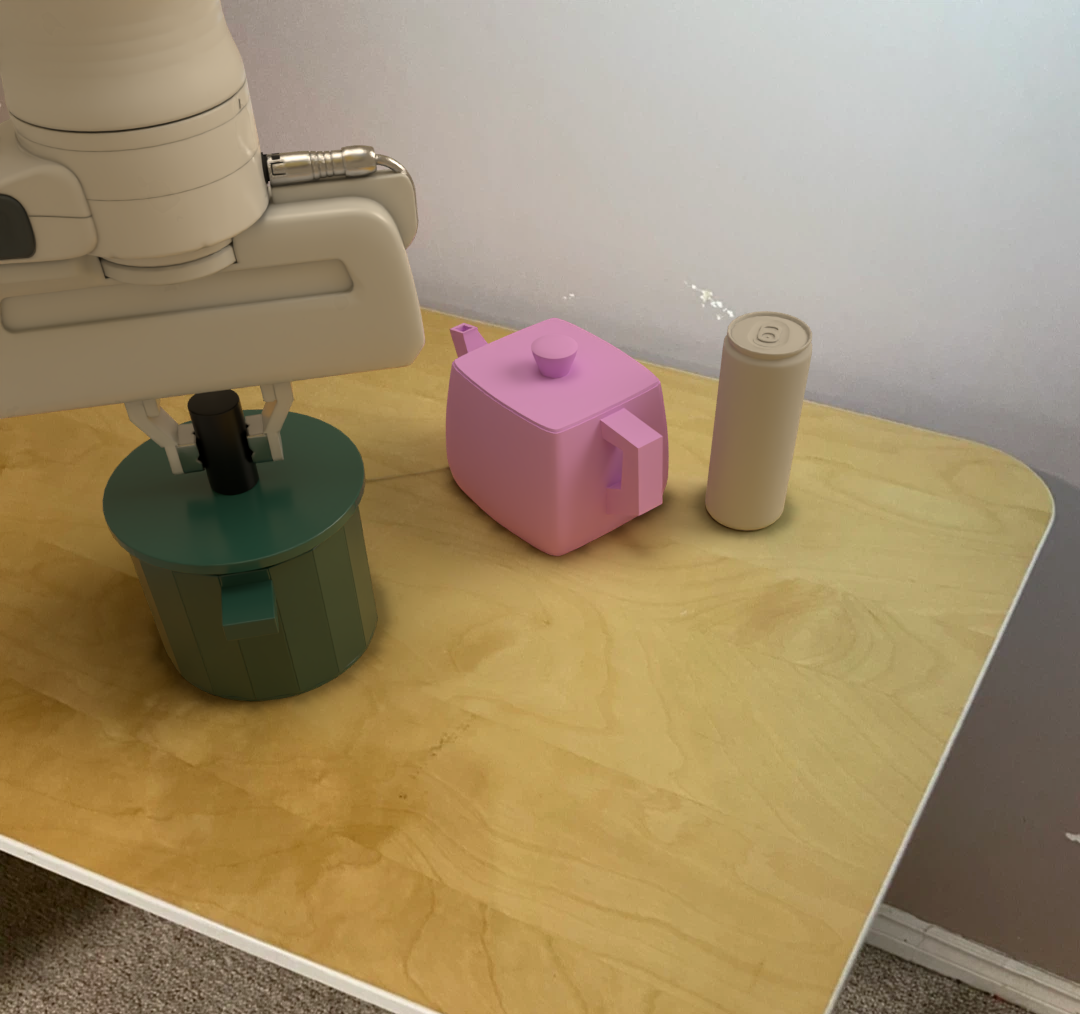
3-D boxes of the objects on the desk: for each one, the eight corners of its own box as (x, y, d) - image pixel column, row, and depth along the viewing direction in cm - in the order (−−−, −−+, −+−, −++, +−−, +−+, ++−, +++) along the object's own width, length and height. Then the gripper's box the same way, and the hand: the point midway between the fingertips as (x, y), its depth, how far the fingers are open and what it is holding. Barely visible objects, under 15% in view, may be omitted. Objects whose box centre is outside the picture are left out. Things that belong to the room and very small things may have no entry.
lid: (103, 604, 51) (61, 503, 47) (114, 446, 60) (80, 348, 55) (381, 562, 53) (364, 461, 49) (354, 414, 61) (338, 316, 57)
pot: (167, 759, 56) (113, 630, 50) (170, 549, 68) (126, 420, 61) (395, 721, 58) (372, 591, 51) (361, 521, 69) (339, 393, 62)
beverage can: (695, 527, 68) (715, 347, 59) (713, 482, 71) (735, 304, 62) (774, 542, 67) (806, 361, 58) (789, 495, 70) (822, 316, 61)
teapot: (403, 457, 74) (384, 311, 66) (528, 399, 78) (524, 256, 70) (580, 597, 64) (581, 446, 56) (711, 523, 68) (729, 373, 61)
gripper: (400, 111, 47) (430, 398, 58) (-105, 162, 45) (20, 452, 55) (421, 171, 43) (449, 468, 54) (-134, 231, 41) (7, 531, 51)
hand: (228, 461), depth 54 cm, fingers closed on lid, 2 cm apart
